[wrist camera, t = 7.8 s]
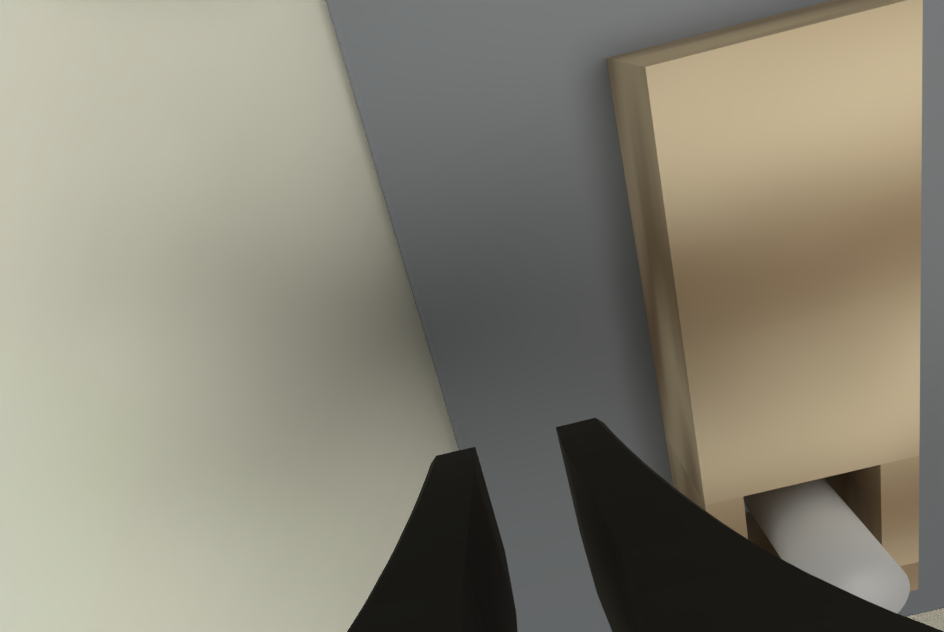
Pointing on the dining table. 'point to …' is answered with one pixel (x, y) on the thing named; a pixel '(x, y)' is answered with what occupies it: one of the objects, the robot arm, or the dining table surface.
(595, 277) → the slate board
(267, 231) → the dining table surface
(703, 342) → the oak link
